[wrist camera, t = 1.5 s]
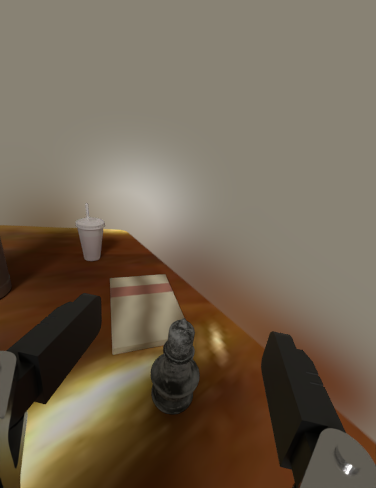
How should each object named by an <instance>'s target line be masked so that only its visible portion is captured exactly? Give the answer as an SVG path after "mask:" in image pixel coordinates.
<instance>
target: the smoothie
mask: <svg viewBox="0 0 376 488" xmlns="http://www.w3.org/2000/svg"><path fill="white" fill-rule="evenodd" d="M104 226H105V222H104V220H102V219H99V218H91V217H89V211H88V203H86V218H81V219H79V220H77V221H76V227H77V228H78V232H79V237H80V241H81V245H82V250H83V254H84V259H85V260H87V261H96V260H98V259H100V254H101V245H102V236H103V227H104Z"/></svg>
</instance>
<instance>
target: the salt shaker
mask: <svg viewBox="0 0 376 488" xmlns="http://www.w3.org/2000/svg"><path fill="white" fill-rule="evenodd" d="M194 334H195V332H194V328H193V326H192V325H191V324H190V323H189V322H188V321H186V320H185V318H183V319H181V320H177V321H175V322H173V323H172V324H171V326H170V328H169V333H168V340H167V341H166V342H165V344H164V347H163V353H164V354H162V355H161V356H159V357H158V358H157V359H156V360H155V362H154V363H153V365H152V369H151V380H152V383H153V386H152V399H153V402H154V404H155V405H156V407H157V408H158V409H159V410H160V411H162V412H164V413H167V414H178V413H181V412H183V411H184V410H185V409H187V408H188V406H189V405H190V403H191V401H192V398H193V391H194V390H195V388H196V387H197V385H198V382H199V369H198V367H197V365H196V363H195V361H194V360H193V356H194V347H193V340H194Z"/></svg>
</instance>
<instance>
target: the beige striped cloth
mask: <svg viewBox="0 0 376 488" xmlns="http://www.w3.org/2000/svg"><path fill="white" fill-rule="evenodd" d="M110 296H111V325H112V354H113V355H115V354H120V353H125V352H131V351H136V350H141V349H146V348H152V347H157V346H162V345H164V344H165V342H166V341H167V340H168V333H169V328H170V326H171V324H172V323H173V322H175V321H177V320H181V319H183V318H184V316H183V314H182V312H181V309H180V307H179V305H178V303H177V300H176V298H175V296H174V293H173V291H172V289H171V286H170V284H169V282H168V280H167V278H166V275H165V274H164V275H150V276H136V277H122V278H110Z"/></svg>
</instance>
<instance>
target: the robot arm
mask: <svg viewBox="0 0 376 488" xmlns="http://www.w3.org/2000/svg"><path fill="white" fill-rule="evenodd" d="M10 290H11V281H10V275H9V272H8V268H7V263H6V259H5V255H4V251H3V247H2V242H1V238H0V299H1V298H2V297H4V296H5V295H6V294H7V293H8V292H9V291H10ZM101 322H102V320H101V298H100V296H96V295H91V294H86V293H83V294H82V295H80V296H79V297H78V298H77V299H76V300H75V301H74V302H68V303H66V304H64V305H62V306H60V307H58V308H56V309H55V310H54V311H53V312H52V313H51V314H49V315H48V317H46V318H45V319H43V320H42V321H41V323H40V324H38V325H36V326H35V327H34V328H33V329H32V330H30V331H29V332H28V333H27V334H26V335H25V336H23V337H22V338H21V339H20V340H19V341H18V342H16V343H15V344H14V345H13V346H12V347H10V348H9V349H8V350H7V351H0V488H20V474H21V465H22V456H23V448H24V440H25V431H26V423H27V410H28V409H29V407H30V406H31V405H32V404H33V402H38V403H42V404H46V403H47V402H48V400H49V399H50V398H51V396H52V395H53V394H54V392H55V391H56V390H57V388H58V387H59V386H60V384H61V383H62V382H63V380H64V379H65V378H66V376H67V375H68V374H69V372H70V371H71V370H72V368H73V367H74V366H75V364H76V363H77V362H78V360H79V359H80V358H81V356H82V355H83V354H84V352H85V351H86V350H87V348H88V347H89V346H90V344H91V343H92V342H93V340H94V339H95V338H96V336H97V335H98V333H99V331H100V328H101ZM261 370H262V376H263V381H264V386H265V392H266V397H267V402H268V407H269V412H270V417H271V423H272V428H273V433H274V438H275V443H276V448H277V453H278V459H279V464H280V467H284V468H288V469H291V470H292V472H293V476H294V481H295V483H294V485H293V486H292V488H376V465H375V464H374V462H373V460H372V458H371V457H370V456H369V454H368V453H367V451H366V450H365V449H364V448H363V447H362V446H361V445H360V444H359V443H358V442H357V441H356V440H355V439H353V438H352V437H351V436H349V435H348V434H346V432H345V430H344V428H343V426H342V423H341V421H340V419H339V417H338V415H337V413H336V411H335V409H334V406H333V404H332V402H331V400H330V398H329V396H328V394H327V391H326V389H325V387H323V383H322V381H321V379H320V377H319V376H318V372H317V370H316V368H315V366H314V364H313V362H312V361H311V359H310V358H309V357H308V356H307V355H306V354H305V352H304V351H303V350H299V349H296V347H295V344H294V342H293V339H292V337H291V336H290V335H288V334H283V333H277V332H271V333H270V335H269V338H268V341H267V344H266V347H265V351H264V354H263V357H262V363H261Z"/></svg>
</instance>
